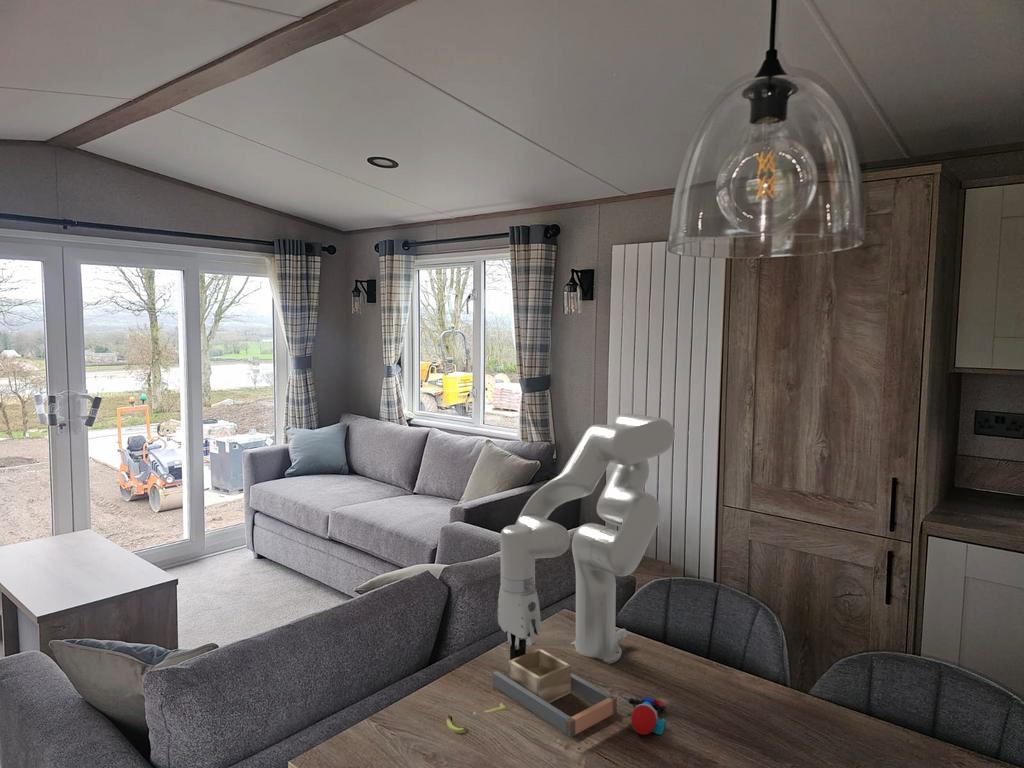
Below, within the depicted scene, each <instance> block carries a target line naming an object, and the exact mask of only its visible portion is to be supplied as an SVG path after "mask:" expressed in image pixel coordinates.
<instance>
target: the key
mask: <svg viewBox="0 0 1024 768" xmlns="http://www.w3.org/2000/svg"><path fill="white" fill-rule="evenodd" d="M498 704H499V707H495V708H491V709H487V710H485V711H484V713H493V712H494V713H495V712H501V711H507V710H506V706H505V705H504V704H503V703H502V702H500V703H498ZM472 715H474V716H477V713H476V712H475V711H474V712H473V714H472ZM452 719H453V717H452V715H450V714H448V715H447V718H446V725H447V728H448V729H449V730H450V731H452V732H453V733H455V734H466V733H468V732H470V730H469V729H468V728H467V727H466V726H464V727H456V726H455V725H453V721H452Z"/></svg>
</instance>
